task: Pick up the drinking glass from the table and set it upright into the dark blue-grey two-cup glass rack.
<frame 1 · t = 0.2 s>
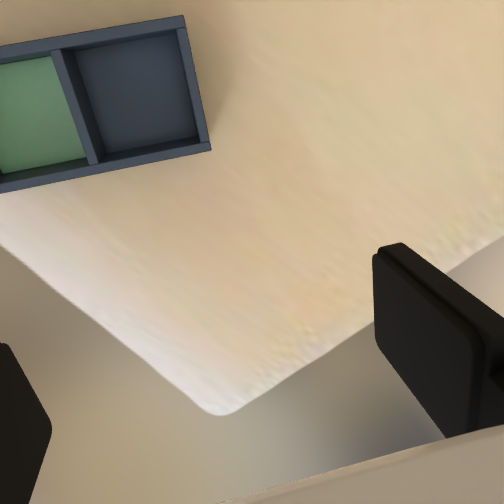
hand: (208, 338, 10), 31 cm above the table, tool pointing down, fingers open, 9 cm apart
glass rack: (87, 105, 35), on the table
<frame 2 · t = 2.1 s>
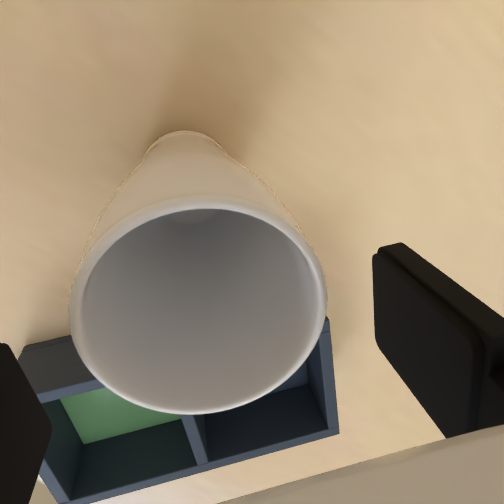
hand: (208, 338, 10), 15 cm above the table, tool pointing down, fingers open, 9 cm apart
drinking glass: (186, 174, 24), on the table
glass rack: (186, 366, 29), on the table
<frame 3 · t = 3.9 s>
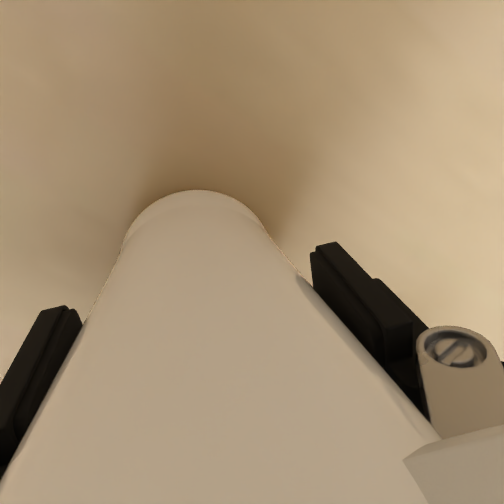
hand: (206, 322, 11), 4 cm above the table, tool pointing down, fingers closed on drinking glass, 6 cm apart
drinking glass: (197, 252, 15), on the table, touching gripper
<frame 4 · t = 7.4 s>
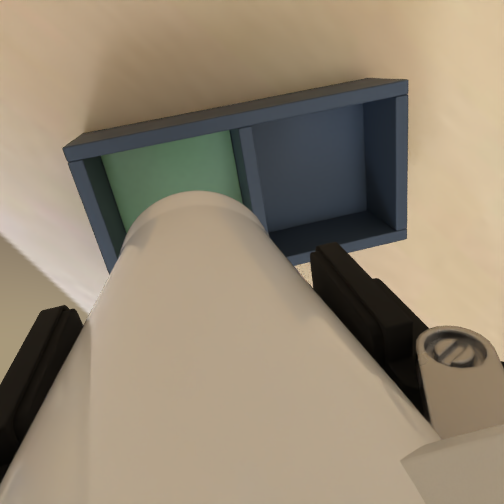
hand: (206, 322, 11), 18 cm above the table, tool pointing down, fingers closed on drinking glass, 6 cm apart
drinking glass: (197, 253, 15), point 14 cm above the table, touching gripper
glass rack: (243, 178, 28), on the table
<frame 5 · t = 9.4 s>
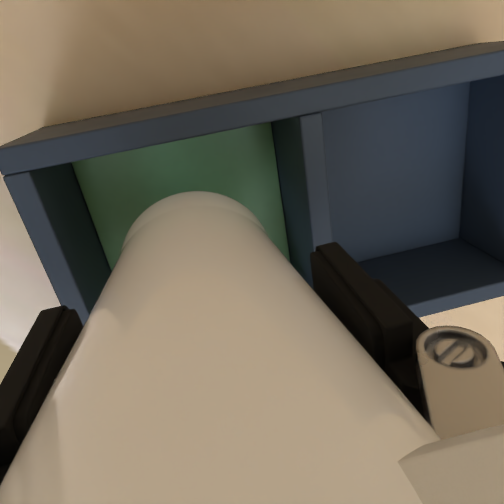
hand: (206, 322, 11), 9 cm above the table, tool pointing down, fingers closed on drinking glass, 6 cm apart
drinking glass: (197, 253, 15), point 4 cm above the table, touching gripper
glass rack: (286, 194, 19), on the table
when the fingers open (5 cm above the table, at t = 10.9 s): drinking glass stays where it is, resting on glass rack.
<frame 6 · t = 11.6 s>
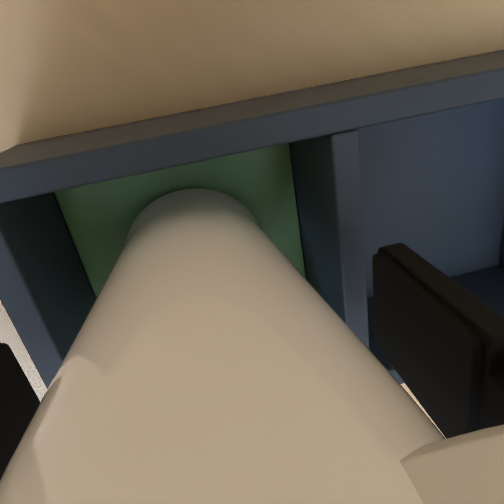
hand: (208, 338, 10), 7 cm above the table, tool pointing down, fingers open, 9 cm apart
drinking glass: (196, 248, 16), point 1 cm above the table, touching glass rack
glass rack: (304, 219, 17), on the table
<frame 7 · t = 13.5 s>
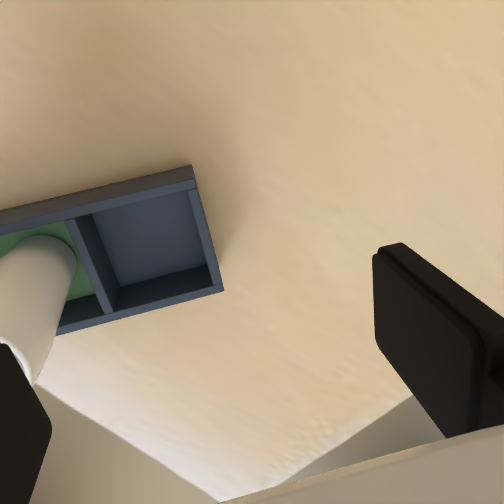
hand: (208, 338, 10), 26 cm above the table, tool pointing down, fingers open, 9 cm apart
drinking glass: (47, 260, 35), point 1 cm above the table, touching glass rack
glass rack: (101, 244, 36), on the table
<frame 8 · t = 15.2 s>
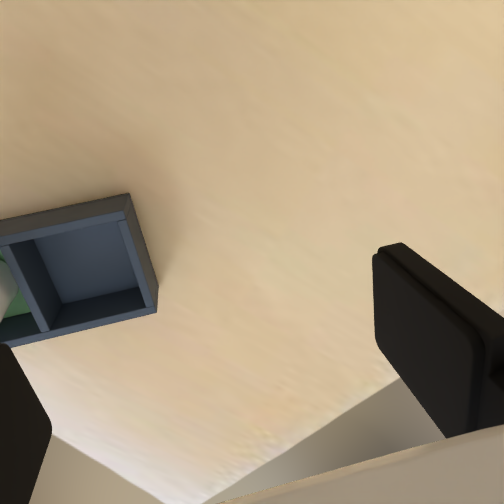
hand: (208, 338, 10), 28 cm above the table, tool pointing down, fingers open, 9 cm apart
glass rack: (43, 264, 38), on the table
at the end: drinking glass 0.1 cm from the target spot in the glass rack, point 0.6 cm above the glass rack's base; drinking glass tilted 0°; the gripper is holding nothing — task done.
